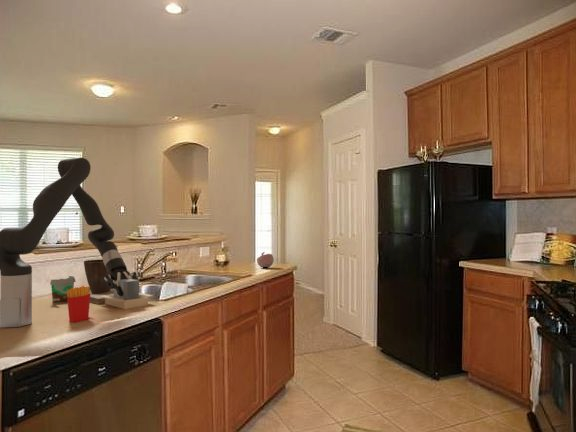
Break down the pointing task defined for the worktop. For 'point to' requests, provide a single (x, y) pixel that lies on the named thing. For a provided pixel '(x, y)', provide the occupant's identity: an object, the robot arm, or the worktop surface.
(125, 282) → the slim box
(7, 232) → the robot arm
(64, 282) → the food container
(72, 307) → the french fries
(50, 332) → the worktop surface
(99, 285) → the plant pot
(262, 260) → the apple
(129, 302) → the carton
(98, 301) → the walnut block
